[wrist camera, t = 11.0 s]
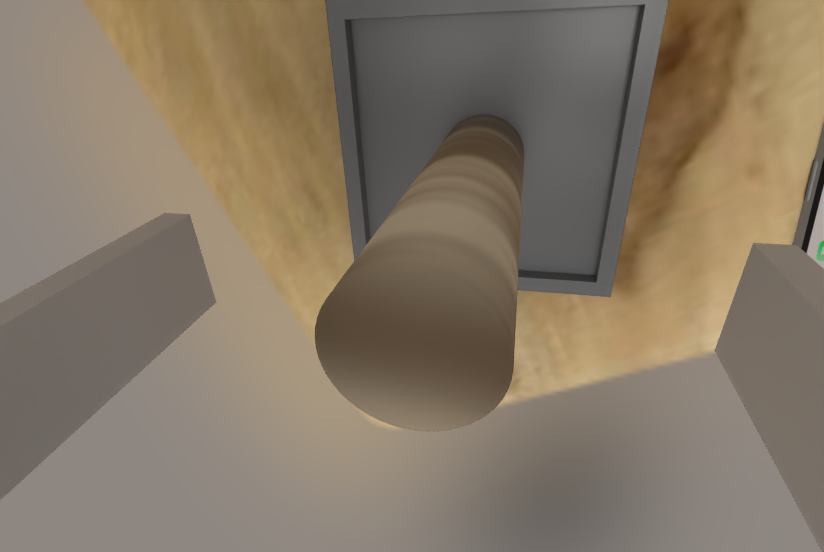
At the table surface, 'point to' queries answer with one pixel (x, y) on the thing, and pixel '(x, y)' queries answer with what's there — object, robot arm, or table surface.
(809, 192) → the smartphone
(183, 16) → the table surface
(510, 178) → the dowel
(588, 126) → the tray
